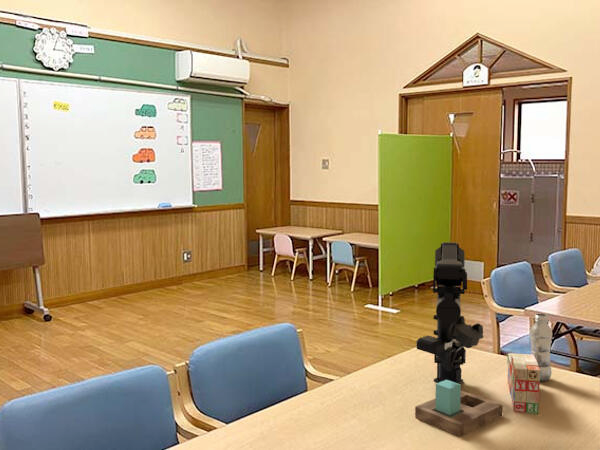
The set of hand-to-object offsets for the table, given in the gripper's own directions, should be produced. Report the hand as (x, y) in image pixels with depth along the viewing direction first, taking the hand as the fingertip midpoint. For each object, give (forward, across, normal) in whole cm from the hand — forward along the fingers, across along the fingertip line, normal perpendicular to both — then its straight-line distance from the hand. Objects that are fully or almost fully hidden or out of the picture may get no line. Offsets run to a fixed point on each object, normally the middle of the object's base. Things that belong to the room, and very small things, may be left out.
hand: (448, 370), depth 151 cm
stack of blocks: (+13, +26, -5) cm, 30 cm away
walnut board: (+13, +2, -2) cm, 13 cm away
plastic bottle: (+13, +42, -2) cm, 44 cm away
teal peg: (+13, -2, -2) cm, 13 cm away
